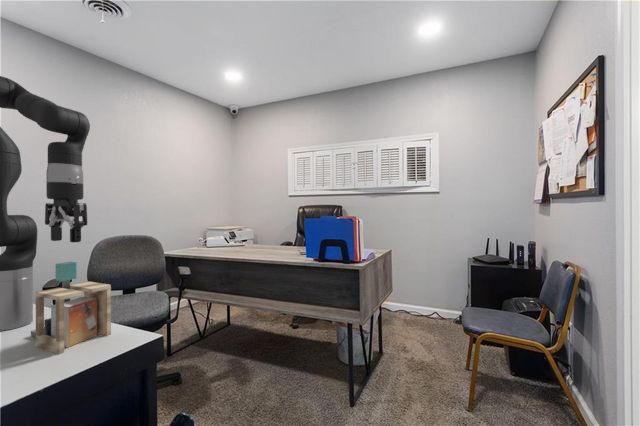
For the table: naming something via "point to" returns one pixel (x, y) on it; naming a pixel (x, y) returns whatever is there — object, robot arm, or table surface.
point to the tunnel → (59, 295)
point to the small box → (77, 320)
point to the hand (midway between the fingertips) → (65, 241)
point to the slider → (63, 274)
